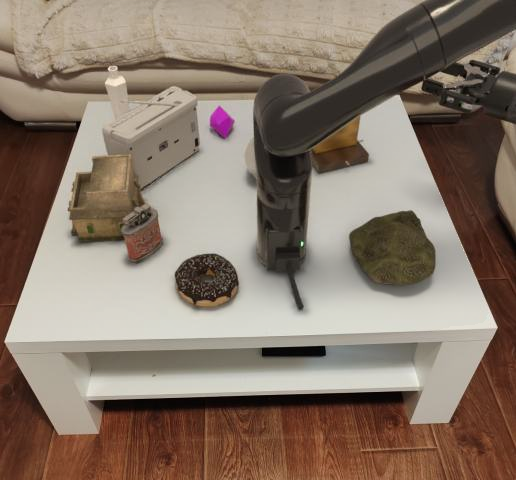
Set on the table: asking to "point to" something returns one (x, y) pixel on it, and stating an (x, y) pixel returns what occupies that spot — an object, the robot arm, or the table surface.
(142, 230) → the lighter
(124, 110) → the perfume bottle
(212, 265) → the donut
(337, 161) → the panel
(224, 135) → the crystal
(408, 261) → the decorative rock
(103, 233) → the miniature house
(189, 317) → the table surface
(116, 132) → the radio
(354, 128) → the tan wooden flat block
